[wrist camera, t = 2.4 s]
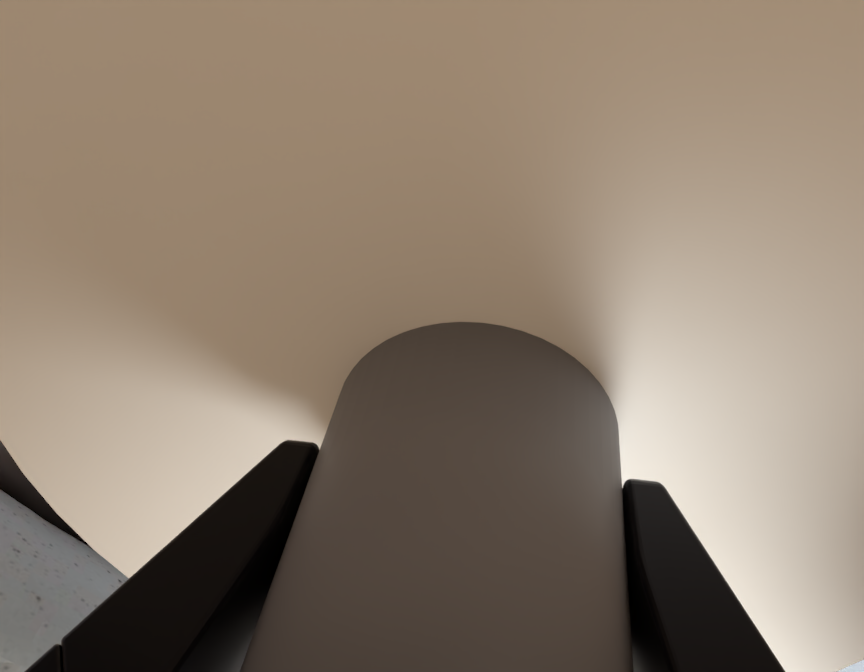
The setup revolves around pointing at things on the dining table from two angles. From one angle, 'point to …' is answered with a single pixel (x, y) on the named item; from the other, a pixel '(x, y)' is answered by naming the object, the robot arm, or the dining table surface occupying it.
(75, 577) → the ceramic mug
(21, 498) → the dining table surface
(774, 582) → the lid
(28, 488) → the dining table surface
